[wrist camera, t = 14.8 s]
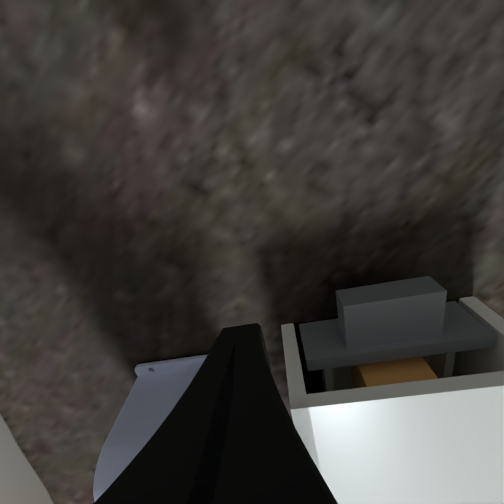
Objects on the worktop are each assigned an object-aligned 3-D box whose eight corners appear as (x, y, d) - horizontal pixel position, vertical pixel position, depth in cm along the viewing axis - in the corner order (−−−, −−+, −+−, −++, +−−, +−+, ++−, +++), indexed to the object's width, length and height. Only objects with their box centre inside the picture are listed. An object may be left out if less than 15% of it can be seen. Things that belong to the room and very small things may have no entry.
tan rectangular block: (353, 395, 23) (374, 452, 19) (349, 344, 20) (371, 397, 16) (405, 389, 22) (438, 446, 18) (407, 336, 20) (445, 388, 16)
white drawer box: (301, 422, 26) (315, 517, 19) (280, 324, 21) (290, 409, 14) (455, 406, 24) (525, 503, 18) (473, 296, 19) (580, 376, 13)
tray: (314, 417, 25) (323, 459, 22) (292, 286, 19) (299, 318, 16) (441, 403, 24) (470, 446, 20) (460, 259, 18) (506, 287, 14)
